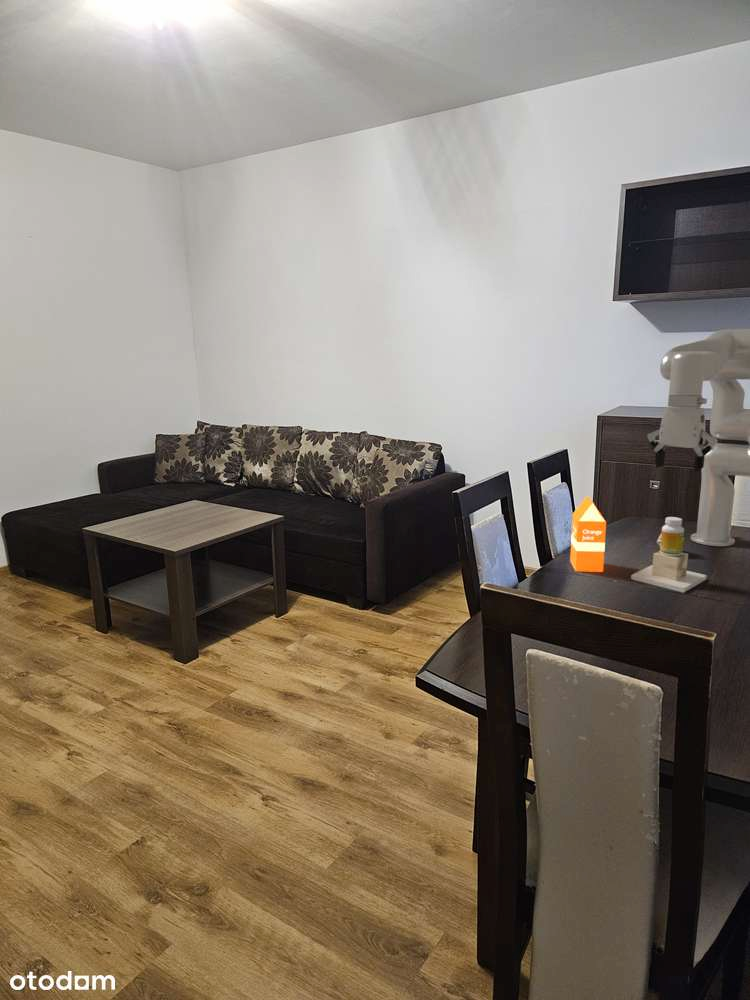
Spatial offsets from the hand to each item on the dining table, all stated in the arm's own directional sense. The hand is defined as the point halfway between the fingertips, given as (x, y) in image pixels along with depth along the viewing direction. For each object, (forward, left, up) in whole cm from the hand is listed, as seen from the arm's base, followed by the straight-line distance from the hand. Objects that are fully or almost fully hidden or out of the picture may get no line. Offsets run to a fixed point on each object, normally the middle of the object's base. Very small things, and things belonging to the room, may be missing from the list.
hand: (678, 468), depth 166 cm
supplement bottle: (0, 0, -23) cm, 23 cm away
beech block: (0, 0, -29) cm, 29 cm away
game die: (-23, -10, -31) cm, 39 cm away
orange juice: (+6, -21, -31) cm, 38 cm away
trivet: (0, 0, -30) cm, 30 cm away
